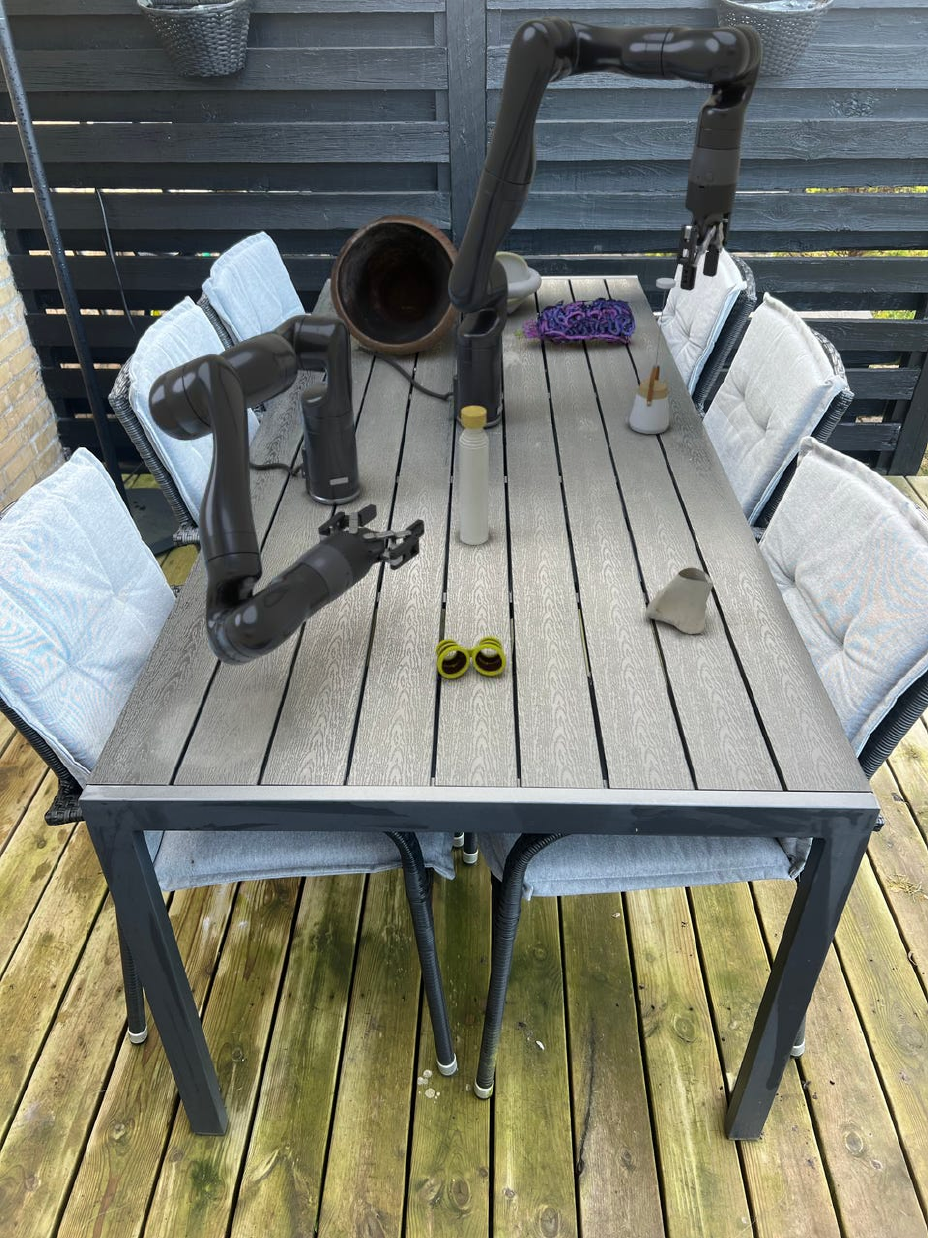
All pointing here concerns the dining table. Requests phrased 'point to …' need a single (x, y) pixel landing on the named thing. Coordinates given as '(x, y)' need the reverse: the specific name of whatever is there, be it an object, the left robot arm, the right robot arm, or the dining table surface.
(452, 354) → the dining table surface
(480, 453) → the bottle
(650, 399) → the pendant light
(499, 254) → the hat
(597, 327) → the decorative ornament
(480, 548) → the dining table surface
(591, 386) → the dining table surface
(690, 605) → the grey flared hollow piece
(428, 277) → the pot
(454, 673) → the opera glasses
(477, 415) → the cap
